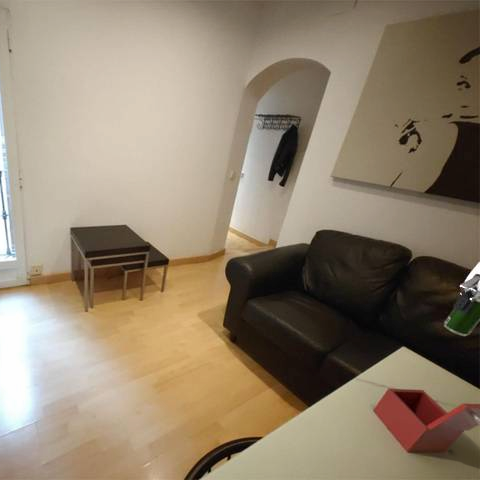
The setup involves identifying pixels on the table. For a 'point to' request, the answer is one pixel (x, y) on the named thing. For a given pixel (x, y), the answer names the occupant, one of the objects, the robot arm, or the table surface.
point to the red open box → (414, 420)
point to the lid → (458, 418)
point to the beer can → (464, 319)
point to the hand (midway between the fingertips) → (469, 311)
